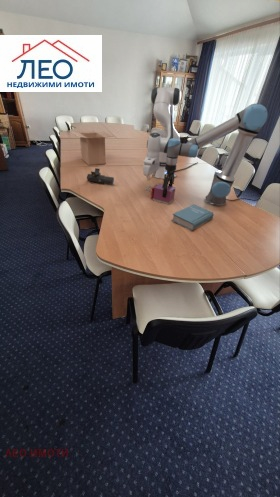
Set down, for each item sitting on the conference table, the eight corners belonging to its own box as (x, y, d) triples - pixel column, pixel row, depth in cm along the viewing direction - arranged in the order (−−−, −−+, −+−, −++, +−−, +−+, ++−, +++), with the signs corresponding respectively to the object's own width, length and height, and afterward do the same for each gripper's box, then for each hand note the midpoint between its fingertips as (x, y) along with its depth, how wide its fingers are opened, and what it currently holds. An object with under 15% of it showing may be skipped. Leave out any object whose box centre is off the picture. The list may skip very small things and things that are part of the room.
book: (192, 210, 154) (193, 204, 151) (212, 219, 146) (214, 212, 143) (171, 220, 141) (173, 213, 138) (192, 231, 132) (194, 224, 129)
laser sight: (111, 186, 182) (110, 174, 176) (85, 182, 185) (84, 170, 179) (114, 182, 190) (114, 170, 184) (89, 179, 192) (88, 167, 186)
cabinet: (153, 200, 165) (154, 187, 159) (158, 195, 173) (159, 183, 167) (168, 204, 161) (170, 191, 155) (173, 199, 168) (175, 187, 163)
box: (116, 165, 229) (116, 136, 213) (83, 168, 214) (80, 137, 198) (102, 154, 259) (101, 128, 243) (71, 156, 244) (68, 129, 228)
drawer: (143, 196, 168) (144, 186, 163) (148, 192, 174) (149, 182, 170) (164, 201, 162) (166, 191, 157) (169, 197, 169) (170, 187, 164)
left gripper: (154, 155, 163) (152, 174, 171) (142, 161, 148) (141, 181, 156) (162, 156, 161) (160, 175, 169) (150, 163, 146) (149, 183, 154)
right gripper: (171, 159, 160) (167, 188, 173) (159, 166, 143) (156, 198, 156) (181, 161, 157) (176, 191, 170) (170, 169, 141) (165, 201, 154)
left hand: (150, 178), depth 163 cm, fingers open, 7 cm apart
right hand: (166, 194), depth 163 cm, fingers closed on cabinet, 10 cm apart
